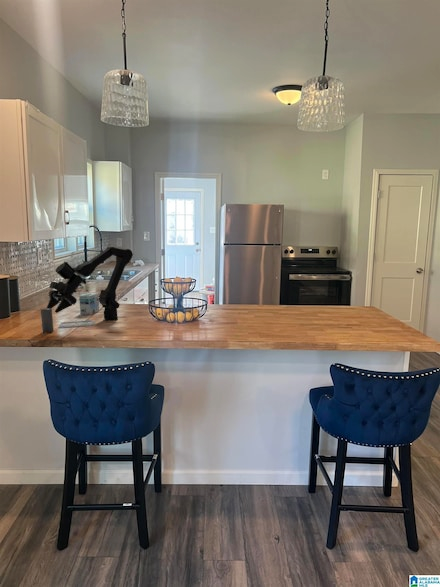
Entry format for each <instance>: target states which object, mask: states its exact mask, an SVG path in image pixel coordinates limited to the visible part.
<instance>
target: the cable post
mask: <svg viewBox="0 0 440 587" xmlns="http://www.w3.org/2000/svg"><path fill="white" fill-rule="evenodd" d="M52 309H53V308H47V307H45V308H41V309H40V317H41V327H42V328H41V329H42V333H43V334H49V333H53V332H54V322H53V310H52Z"/></svg>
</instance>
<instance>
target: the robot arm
mask: <svg viewBox="0 0 440 587" xmlns="http://www.w3.org/2000/svg"><path fill="white" fill-rule="evenodd" d="M133 255H134V254H133V251H132V250H131V249H129V248H119V247H114V246H107V247H106V248H105V249H104V250H103V251H101V252H100V253H98V254H97V255H96V256H94V257H93V258H91V259H90V260H87V261H84V262H82V263H80V264H78V265H77V266H76V267H72V266H71V265H70V263H68V262H67V261H64V262H63V263H61V264H60V265H58V266H56V268H55V273H57V274H58V275H59V276H60V277H61V278H62V279H63V280H67V281H66V282H65V283H64V282H63V281H58V282H57V281H50V285H49V287H48V288H49V289H50V290H49V291H48V296H49V301H48V303H47V306H46V308H52V309H53V308H54V307H56V306H57V307H56V308H55V310H54V313H56V314H58V313H59V312H61V311H63V310H66V309H67V308H69V307H72V306H73V305H76V303H77V302H78V300H77V298H76V297H75V296H74V295H73V294H74V293H77V289H78V288H79V287H80V286H81V284H83V285H87V281H86V280H87V279H86V278H84V277H89V276H91V274H93V273H94V271H95V270H96V268H97V267H98V266H100V265H101V264H103V263H104V262H105V261H106V260H109V259H110V258H111V257H112V256H114V257H115V262H116V263H115V266H114V269H113V270H112V271H113V272H112V273H111V276H110V278H109V281H108V284H107V286H106V288H105V289H101V290H100V293H99V294H98V297H99V305H101V306H102V308H104V310H103V319H104V321H117V320H118V319H119V317H118V309H119V308H120V306H121V305H120V303H119V302H118V301H117V300H116V298H117V292H116V291H117V289H118V286H119V283H120V281H121V278H122V275H123V272H124V270H125V268H126V266H127V265H128V264H129V263H130V262H131V260H132V259H133Z"/></svg>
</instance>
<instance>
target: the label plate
mask: <svg viewBox="0 0 440 587" xmlns="http://www.w3.org/2000/svg"><path fill="white" fill-rule="evenodd" d="M94 322H95V320H94V319H92V320H78V321H77V320H76V321H62V322H60V324H59V326H58V328H59V329H66V328H67V329H68V328H77V327H78V328H79V327H92V326H94Z"/></svg>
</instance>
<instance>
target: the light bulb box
mask: <svg viewBox="0 0 440 587" xmlns="http://www.w3.org/2000/svg"><path fill="white" fill-rule="evenodd" d="M98 296H99V293H98V292H87V293H83V294H81V295H79V297H78V298H79V299H78V300H79V311H80V312H79V313H80V315H94V314H95V313H98V312H100V302H99V297H98Z"/></svg>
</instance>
